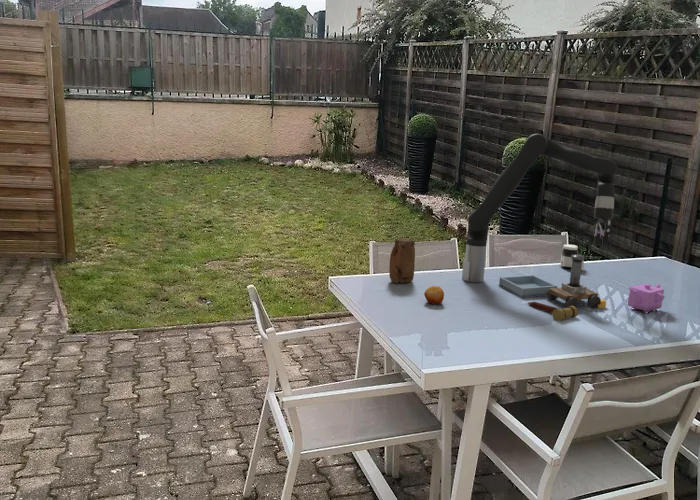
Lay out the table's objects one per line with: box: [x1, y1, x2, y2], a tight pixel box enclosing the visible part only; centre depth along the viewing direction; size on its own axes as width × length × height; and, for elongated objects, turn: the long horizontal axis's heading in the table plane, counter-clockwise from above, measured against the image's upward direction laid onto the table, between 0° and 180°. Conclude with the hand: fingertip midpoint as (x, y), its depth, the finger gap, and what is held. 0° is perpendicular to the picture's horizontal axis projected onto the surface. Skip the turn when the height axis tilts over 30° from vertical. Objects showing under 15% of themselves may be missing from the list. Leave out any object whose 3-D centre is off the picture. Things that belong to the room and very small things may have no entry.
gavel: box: [527, 301, 579, 322], centre depth 256 cm, size 21×5×10 cm
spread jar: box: [560, 244, 585, 272], centre depth 324 cm, size 12×11×12 cm
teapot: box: [627, 283, 666, 313], centre depth 262 cm, size 15×13×11 cm
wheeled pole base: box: [546, 282, 601, 309], centre depth 267 cm, size 16×15×8 cm
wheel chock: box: [596, 298, 607, 309], centre depth 264 cm, size 4×3×3 cm
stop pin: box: [568, 254, 585, 287], centre depth 265 cm, size 5×5×15 cm
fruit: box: [423, 285, 445, 305], centre depth 262 cm, size 8×8×8 cm
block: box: [388, 237, 416, 284], centre depth 289 cm, size 11×8×20 cm
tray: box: [498, 274, 558, 298], centre depth 284 cm, size 18×18×4 cm
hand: (600, 245), depth 270 cm, fingers open, 8 cm apart
